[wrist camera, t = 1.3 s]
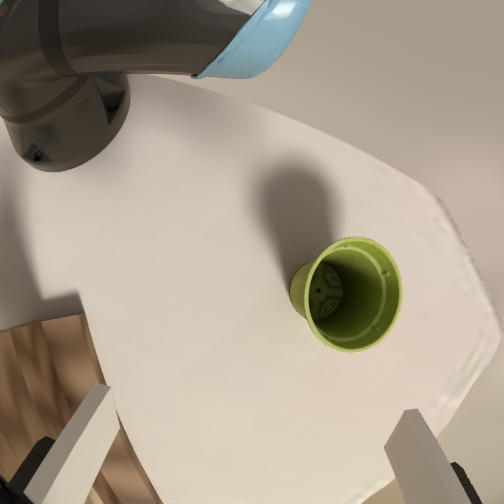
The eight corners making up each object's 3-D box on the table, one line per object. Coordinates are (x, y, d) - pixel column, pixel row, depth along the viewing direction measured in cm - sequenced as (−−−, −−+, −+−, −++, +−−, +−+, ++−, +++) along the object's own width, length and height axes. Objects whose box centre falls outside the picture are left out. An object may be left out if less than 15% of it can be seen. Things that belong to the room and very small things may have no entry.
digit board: (2, 327, 23) (-125, 361, 3) (84, 312, 26) (-52, 360, 6) (97, 523, 22) (75, 620, 3) (175, 521, 25) (184, 635, 5)
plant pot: (310, 352, 30) (351, 375, 22) (254, 287, 29) (280, 292, 21) (367, 293, 32) (417, 296, 24) (318, 228, 31) (361, 213, 23)
